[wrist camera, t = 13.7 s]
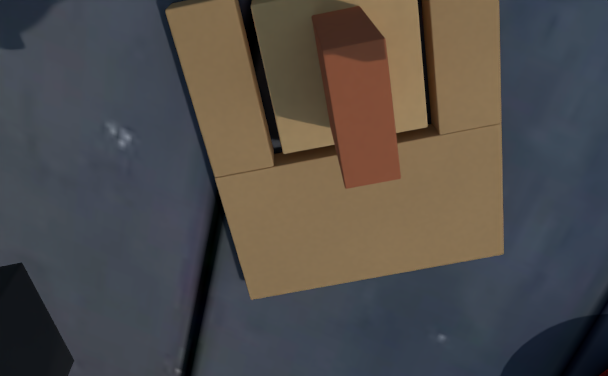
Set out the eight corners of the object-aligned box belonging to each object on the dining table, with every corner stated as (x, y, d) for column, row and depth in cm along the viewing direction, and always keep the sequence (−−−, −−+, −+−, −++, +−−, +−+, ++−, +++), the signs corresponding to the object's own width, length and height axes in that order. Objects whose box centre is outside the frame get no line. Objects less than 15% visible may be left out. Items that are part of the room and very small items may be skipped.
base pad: (251, 282, 36) (250, 300, 35) (170, 3, 28) (164, 9, 26) (493, 238, 35) (504, 254, 34) (485, -62, 27) (498, -60, 25)
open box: (282, 142, 32) (285, 221, 24) (251, -1, 28) (242, 37, 20) (420, 116, 31) (468, 188, 23) (407, -32, 27) (459, -6, 20)
